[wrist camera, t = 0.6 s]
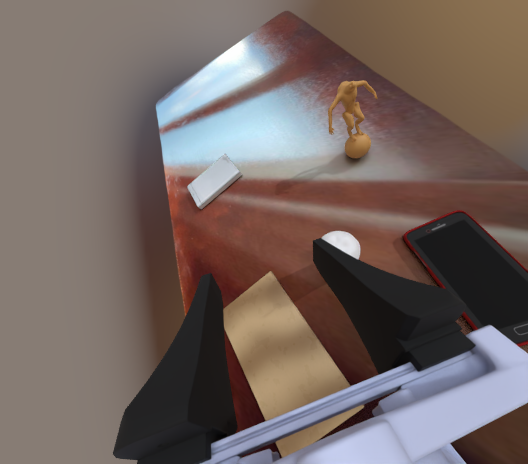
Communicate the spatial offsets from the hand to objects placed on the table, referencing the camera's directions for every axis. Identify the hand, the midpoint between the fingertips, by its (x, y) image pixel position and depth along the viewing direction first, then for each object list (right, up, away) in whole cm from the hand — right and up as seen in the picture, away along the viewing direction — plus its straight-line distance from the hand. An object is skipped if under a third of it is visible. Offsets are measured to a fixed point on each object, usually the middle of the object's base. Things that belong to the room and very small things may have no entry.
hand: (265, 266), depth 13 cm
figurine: (+16, +17, +21) cm, 32 cm away
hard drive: (-12, +14, +32) cm, 37 cm away
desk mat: (+2, -15, +15) cm, 21 cm away
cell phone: (+25, -3, +10) cm, 27 cm away
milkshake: (+11, -3, +16) cm, 19 cm away
